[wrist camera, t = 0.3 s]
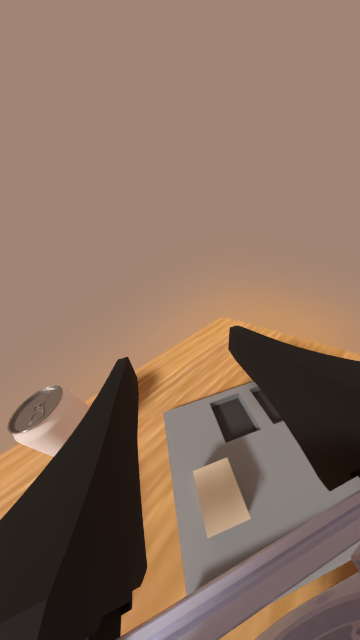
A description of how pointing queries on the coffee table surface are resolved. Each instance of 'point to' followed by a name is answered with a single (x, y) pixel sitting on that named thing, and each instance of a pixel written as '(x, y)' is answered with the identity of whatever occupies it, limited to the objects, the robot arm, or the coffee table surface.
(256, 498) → the box
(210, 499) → the block
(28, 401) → the can
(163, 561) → the coffee table surface
